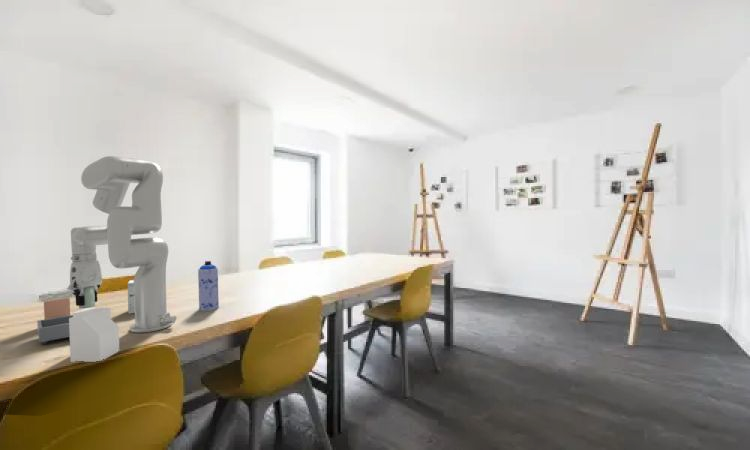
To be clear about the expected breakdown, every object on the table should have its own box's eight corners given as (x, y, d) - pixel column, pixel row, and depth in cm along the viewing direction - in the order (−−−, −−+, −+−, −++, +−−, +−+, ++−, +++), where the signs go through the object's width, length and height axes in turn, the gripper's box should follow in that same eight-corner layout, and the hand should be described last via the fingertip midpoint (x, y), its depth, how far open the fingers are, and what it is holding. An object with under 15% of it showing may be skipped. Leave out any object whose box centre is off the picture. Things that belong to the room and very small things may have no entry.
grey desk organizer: (88, 336, 116) (87, 309, 115) (39, 346, 107) (38, 317, 107) (78, 319, 134) (77, 296, 134) (35, 326, 126) (34, 302, 126)
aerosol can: (219, 305, 155) (218, 259, 154) (219, 309, 148) (218, 261, 147) (199, 307, 152) (197, 260, 151) (198, 311, 145) (196, 263, 144)
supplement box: (127, 314, 142) (126, 283, 141) (130, 309, 148) (129, 279, 148) (149, 311, 145) (148, 281, 145) (151, 307, 152) (150, 278, 151)
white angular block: (89, 347, 107) (87, 307, 107) (127, 346, 107) (125, 307, 107) (58, 362, 96) (56, 318, 96) (100, 361, 97) (98, 318, 96)
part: (98, 305, 143) (97, 285, 143) (87, 308, 138) (86, 288, 138) (86, 305, 144) (85, 285, 144) (75, 308, 139) (74, 288, 139)
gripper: (73, 260, 132) (76, 309, 132) (111, 255, 149) (113, 298, 149) (54, 261, 133) (57, 309, 133) (94, 255, 149) (96, 298, 150)
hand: (86, 303), depth 141 cm, fingers closed on part, 5 cm apart
